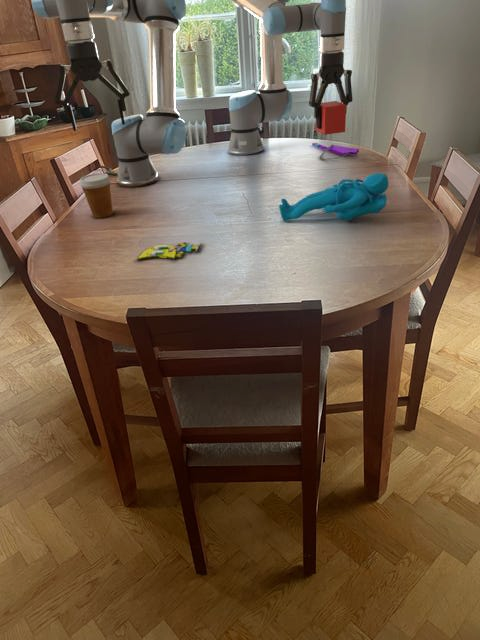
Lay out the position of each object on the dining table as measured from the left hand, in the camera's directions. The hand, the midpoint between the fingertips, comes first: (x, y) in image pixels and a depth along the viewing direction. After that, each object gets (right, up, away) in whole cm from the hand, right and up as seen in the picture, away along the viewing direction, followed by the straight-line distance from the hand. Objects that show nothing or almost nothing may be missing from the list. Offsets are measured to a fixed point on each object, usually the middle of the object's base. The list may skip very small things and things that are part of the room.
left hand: (99, 127), depth 138 cm
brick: (+72, +11, +30) cm, 79 cm away
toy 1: (+22, -38, -11) cm, 45 cm away
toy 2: (+67, -26, 0) cm, 72 cm away
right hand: (+72, +12, +29) cm, 78 cm away
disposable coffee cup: (-4, -21, +18) cm, 28 cm away
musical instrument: (+77, +13, +59) cm, 97 cm away
